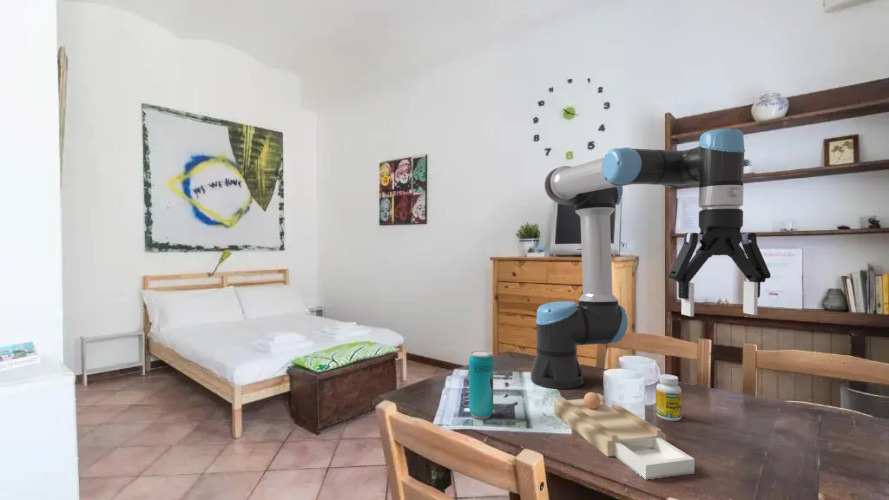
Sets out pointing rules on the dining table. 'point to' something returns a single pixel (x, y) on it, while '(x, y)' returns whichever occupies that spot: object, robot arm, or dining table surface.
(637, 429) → the chute
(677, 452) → the dish
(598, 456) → the dining table surface
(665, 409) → the supplement bottle
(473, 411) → the beverage can
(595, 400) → the ball
